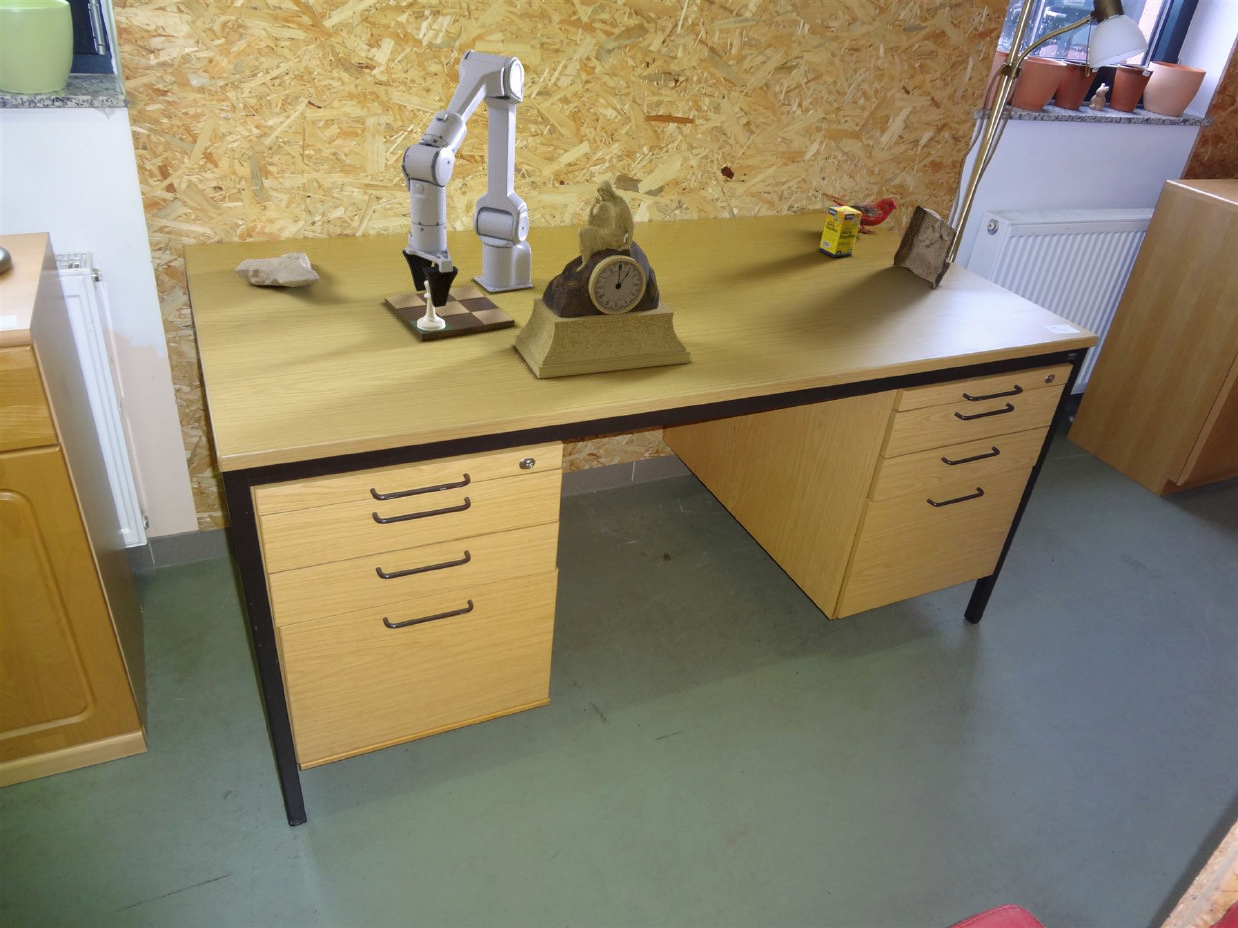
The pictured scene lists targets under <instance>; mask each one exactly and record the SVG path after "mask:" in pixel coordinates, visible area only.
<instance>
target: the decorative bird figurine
mask: <svg viewBox="0 0 1238 928" xmlns="http://www.w3.org/2000/svg"><path fill="white" fill-rule="evenodd" d="M832 202H833V203H834V204H836V205H838V207H843V206H848V207H850V208H852V209H855V210H857V211H860V212H862V215H861V219H860V223H859V227H858V230H860V231H863V232H866V233H875V234H876V232H875V231H874V230H873V231H872V230H871V229H868V228H866V227H874V226H877V225H880V224H882V223H884V222H885V221H886V220H887V219H888V217H889V216H890V215H891V214H892V213H893V211H894V210H898V206H897V205H896V203H895V200H894V199H893V198H891V197H890V198H889V197H888V198H884V199H881V200H879V201H877V202H875V203H859V204H852V205H847V204H845V203H842V202H839V201H837V200H835V199H833V200H832Z"/></svg>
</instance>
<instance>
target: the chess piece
mask: <svg viewBox="0 0 1238 928" xmlns="http://www.w3.org/2000/svg"><path fill="white" fill-rule="evenodd" d="M426 279H427V278H426ZM424 285H425V287H426V290H425V291H426V292H427V293H426V292H424V293H425V294H424V297H425V298H428V301H427V311H426V315H425V316H424V317H422V318H420V319H419V320H418V321H417V327H418V328H420V329H422V330H425V331H438V330H441V329H443V328H444V327H445V321H444V320H443V319H441V318H439V317H437V316H436V314H435V308H434V306H433V304H432V300H431V294H430V287H429V283H428V280H427V281H425V282H424Z"/></svg>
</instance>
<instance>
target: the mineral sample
mask: <svg viewBox="0 0 1238 928" xmlns="http://www.w3.org/2000/svg"><path fill="white" fill-rule="evenodd" d="M957 233H958V231H957V229H955V228H954V227H952V226H951V224H948V223H946V222H945V219H944V218H943V217H942V216H940V214H938V213H937V212H936V211H934V210H932V209H929V208H925V207H922V206H921V205H916V206H915V209H914V210H913V212H912V216H910V219H909V223H908V225H907V226H906V227H905V230H904V231H903V235H902V236H901V237H900V244H899V246H898V248H897V250H896V252H895V254H894V257H893V263H892V266H893V267H895V266H901V267H906V268H908V269H909V270H910V271H911V272H913V273H914V274H916V275H917V276H919V277H920V278H923V279H925V280H928V281H929V282H931V283H933V286H932V288H933V289H935V288H936V287H938V286H939V285H940V283H941V282H942V280H943V278H944V276H945V275H946V274H947V272H948V270H949V269H950V267H951V263H950V261H949V259H948V257H949V254H950V251H951V249H952V248H953V246H954V243H955V240H956V238H957V237H956V236H957Z"/></svg>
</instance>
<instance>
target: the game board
mask: <svg viewBox="0 0 1238 928" xmlns="http://www.w3.org/2000/svg"><path fill="white" fill-rule="evenodd" d="M425 293H427V291H426V292H419V293H408V294H400V295H393V296H386V297H384V304H385V305H386V307H388V308H389V309H390V310H391V312H392V313H393V314H394V315H396V316H397V318H398V319H400V320H401V322H403V324H405V326H407V328H408V329H409V330H410V331H411V332H412V333H413V334H414V335H415V336H416V337H417V338H418V339H419V340H420V341H421V342H425V341H431V340H438V339H444V338H450V337H451V338H452V337H457V336H462V335H469V334H476V333H482V332H487V331H494V330H499V329H500V330H501V329H506V328H511V327H515V319H513V318H512V317H511V316H510V315H508V313H506V312H505V311H504V310H502V309H501V308H500V307H499V306H497V305H496V304H495V303H494V302H493V301H491V300H490V299H489V298H488V297H486V296H485V295H484V294H483V293H482V292H481V291H479V290H478V289H477V288H475V287H474V286H473V285H468V286H462V287H454V288H450V291H449V294H448V299H447V303H446V306H442V307H434V308H435V314H436V316H437V317H439V318H441V319H443V320H444V321H445V327H444V328H443V329H441V330H438V331H425V330H422V329H420V328H418V327H417V321H418V320H419V319H420V318H422V317H424V316H425V315H426V311H427V301H428V298H425V297H424V294H425Z"/></svg>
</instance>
